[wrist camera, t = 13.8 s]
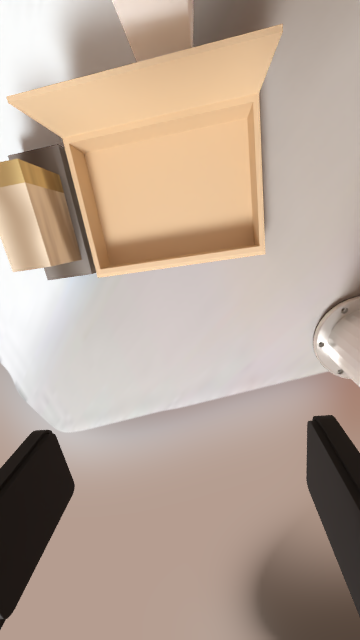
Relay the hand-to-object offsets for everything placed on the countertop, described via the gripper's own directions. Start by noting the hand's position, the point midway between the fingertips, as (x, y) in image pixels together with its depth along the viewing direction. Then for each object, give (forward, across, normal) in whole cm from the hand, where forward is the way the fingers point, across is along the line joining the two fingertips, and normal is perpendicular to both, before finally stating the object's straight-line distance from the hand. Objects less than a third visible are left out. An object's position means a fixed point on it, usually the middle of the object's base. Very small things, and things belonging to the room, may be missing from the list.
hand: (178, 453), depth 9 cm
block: (+25, +17, -12) cm, 33 cm away
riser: (+28, +17, -12) cm, 35 cm away
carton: (+28, +2, -12) cm, 31 cm away
